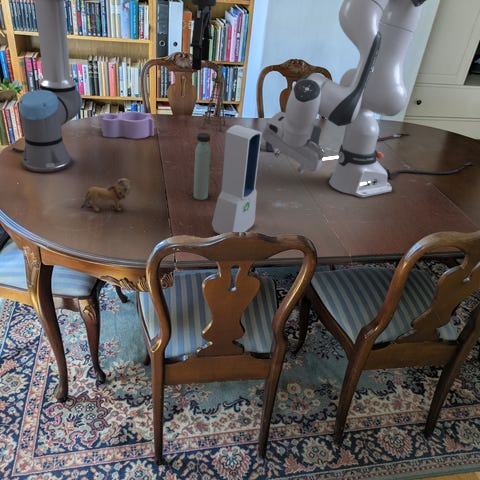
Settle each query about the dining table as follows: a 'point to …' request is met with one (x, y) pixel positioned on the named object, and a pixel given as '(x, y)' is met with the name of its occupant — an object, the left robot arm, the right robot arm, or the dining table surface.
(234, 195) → the electronic device
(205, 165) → the bottle
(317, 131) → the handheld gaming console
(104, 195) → the lion figurine
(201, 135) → the cap
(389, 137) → the sword
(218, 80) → the eiffel tower model
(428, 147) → the dining table surface
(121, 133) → the clip
